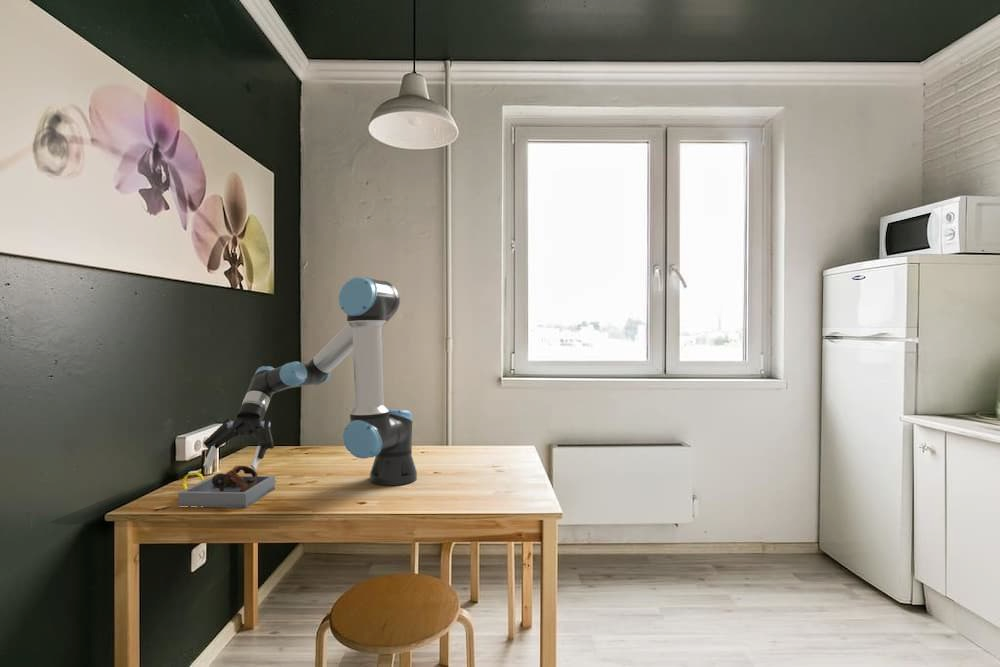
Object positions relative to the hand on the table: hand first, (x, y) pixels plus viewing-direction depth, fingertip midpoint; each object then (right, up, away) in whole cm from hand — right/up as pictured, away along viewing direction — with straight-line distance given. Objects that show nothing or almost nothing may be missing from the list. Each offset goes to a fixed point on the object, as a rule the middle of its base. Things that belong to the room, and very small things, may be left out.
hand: (229, 467), depth 156 cm
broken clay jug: (0, -8, +2) cm, 8 cm away
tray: (0, -8, 0) cm, 8 cm away
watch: (-14, -9, +6) cm, 17 cm away
